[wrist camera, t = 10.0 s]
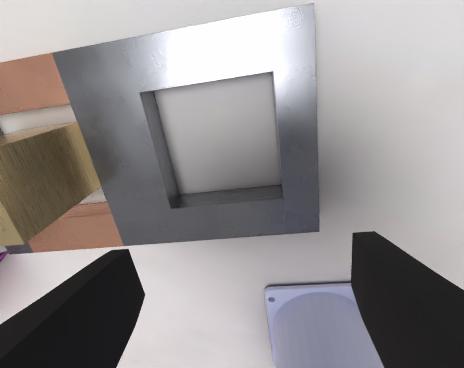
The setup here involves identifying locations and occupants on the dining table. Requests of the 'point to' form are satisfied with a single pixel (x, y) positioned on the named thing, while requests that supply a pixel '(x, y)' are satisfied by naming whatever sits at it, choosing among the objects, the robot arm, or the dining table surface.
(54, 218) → the light brown rectangular block
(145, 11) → the dining table surface
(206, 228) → the grey flat frame piece
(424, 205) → the dining table surface
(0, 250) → the candy bar box
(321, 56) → the dining table surface
